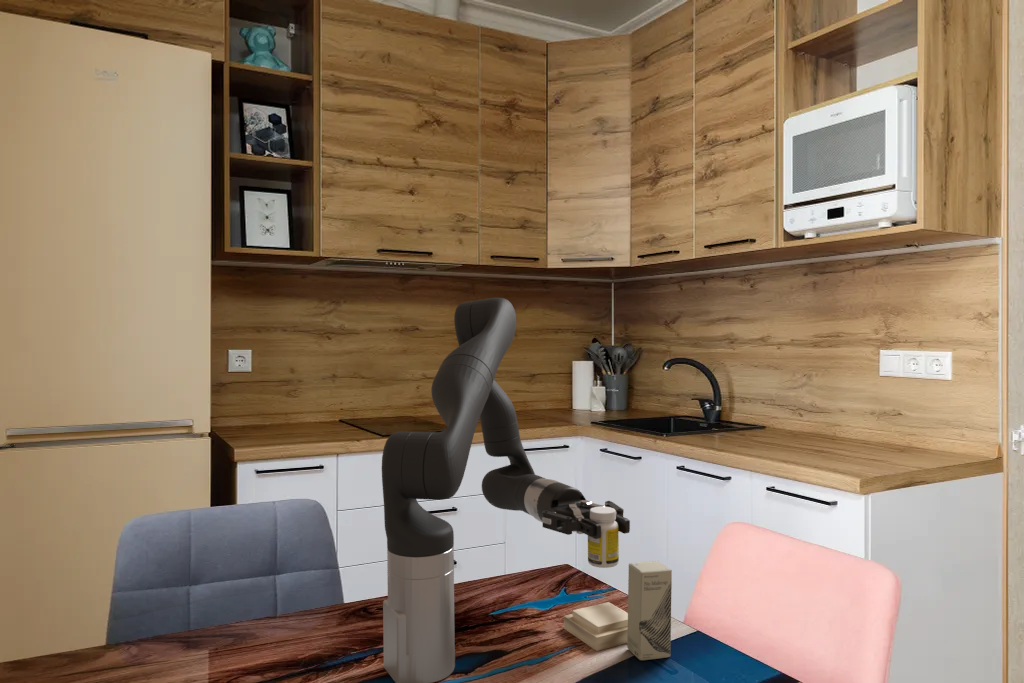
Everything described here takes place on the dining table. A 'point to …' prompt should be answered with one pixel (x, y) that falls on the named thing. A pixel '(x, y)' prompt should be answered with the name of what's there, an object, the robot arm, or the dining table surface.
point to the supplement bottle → (604, 539)
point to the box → (649, 610)
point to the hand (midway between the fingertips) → (613, 529)
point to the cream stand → (598, 625)
